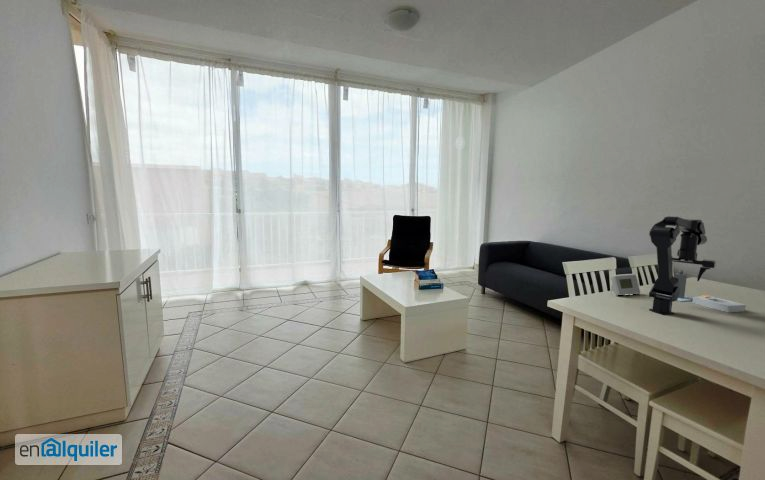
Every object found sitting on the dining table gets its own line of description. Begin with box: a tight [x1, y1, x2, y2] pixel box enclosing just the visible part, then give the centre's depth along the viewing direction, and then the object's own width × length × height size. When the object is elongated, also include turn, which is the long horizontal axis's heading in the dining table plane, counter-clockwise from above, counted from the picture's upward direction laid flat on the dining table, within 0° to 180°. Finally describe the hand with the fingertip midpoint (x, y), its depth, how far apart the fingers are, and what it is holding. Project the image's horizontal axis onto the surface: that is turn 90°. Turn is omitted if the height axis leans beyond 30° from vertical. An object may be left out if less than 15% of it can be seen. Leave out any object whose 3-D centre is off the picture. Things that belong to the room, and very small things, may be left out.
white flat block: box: [691, 294, 747, 313], centre depth 151 cm, size 10×14×4 cm
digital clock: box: [610, 273, 641, 296], centre depth 170 cm, size 16×9×11 cm, turn 94°
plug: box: [673, 269, 688, 299], centre depth 164 cm, size 4×4×14 cm
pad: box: [666, 295, 693, 303], centre depth 164 cm, size 10×10×1 cm
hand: (684, 279), depth 150 cm, fingers open, 9 cm apart
